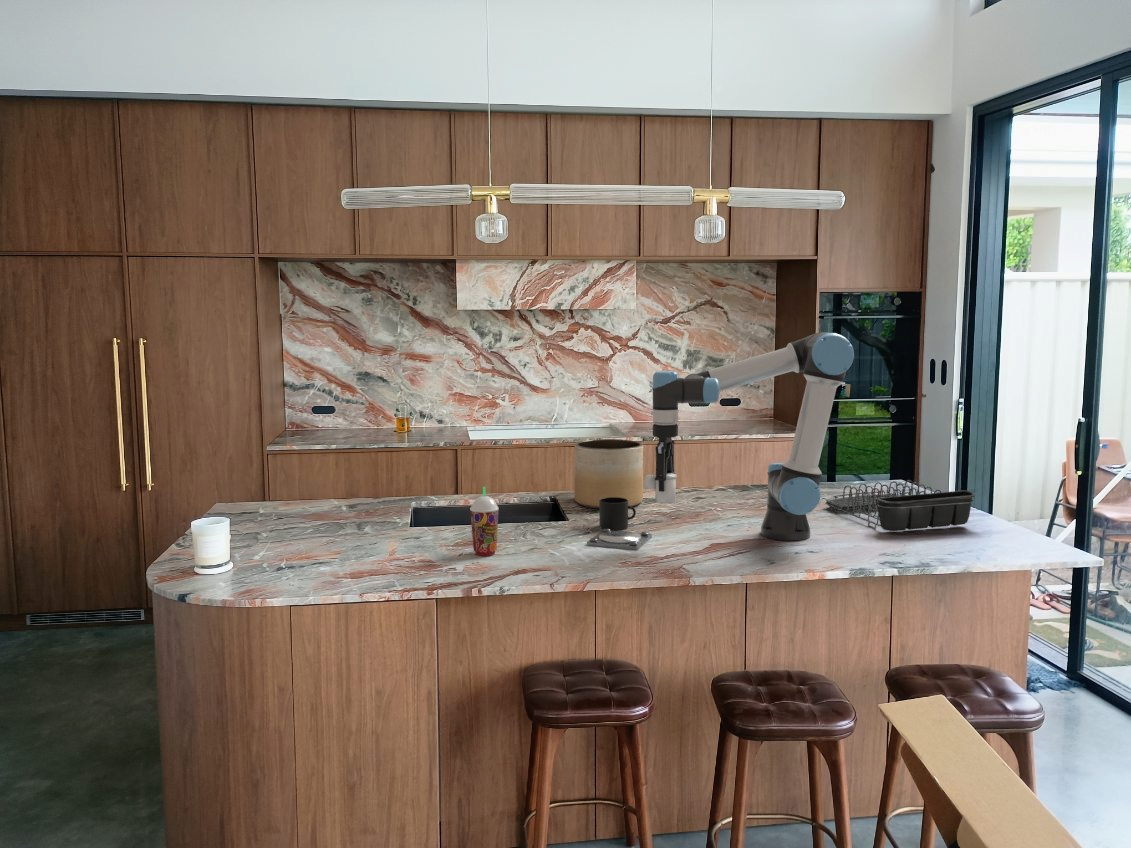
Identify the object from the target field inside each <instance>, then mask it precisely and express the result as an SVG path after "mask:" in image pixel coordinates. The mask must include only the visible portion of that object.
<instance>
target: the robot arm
mask: <svg viewBox="0 0 1131 848" xmlns="http://www.w3.org/2000/svg"><path fill="white" fill-rule="evenodd" d="M854 358H855V352H854V347H853V345H852V344H851V342H850V341H849V340H848V338H846V337H845V336H843V335H842V334H838V333H836V332H824V331H821V332H816V333H813V334H811V335H808V336H806V337H804V338H800V339H798V340H796V341H795V340H794V341H791V342H788V344H787V345H786V347H783V348H779V349H777V350H773V351H769V352H766V353H762V354H759V355H755V356H752V357H748V358H745V359H742V360H738V361H735V362H732V363H728V364H725V365H722V366H718V367H715V368H712V369H708V370H705V371H701V372H698V373H689V374H688V375H686V376H685V377H679V373H678V372H677V371H673V370H670V371H669V370H667V371H666V370H665V371H663V370H662V371H660V370H659V371H656V372H654V374H653V375H652V387H651V388H652V411H651V413H650V414H651V416H652V422H653V424H652V436H653V437H655V438H658V443H657V445H656V446H655V474H656V477H655V480H658V502H667V480H666V474H667V473H673V474H676V472H675V443H676V442H675V440H672V438H676V437H678V436H679V435H678V434H679V425H678V422H679V404H706V405H708V404H716V403H718V402H719V398H720V393H721V392H723V391H727V390H731V389H734V388H735V389H736V388H739V387H742V386H746V385H748V384H753V383H755V382H759V381H762V380H767V379H770V378H773V377H777V376H780V375H784V374H786V373H787V374H788V373H790V372H794V373H796V374H799V373H803V374H802V375H803V377H804V378H805V380H806V384H805V387H804V388H805V390H804V393H803V398H802V402H801V407H800V410H799V415H798V419H797V424H796V428H795V431H794V436H793V441H792V445H791V449H790V453H789V458H788V459H787V460H786V461H785V462H774V463H770V464H769V465H768V469H767V496H766V497H767V501H766V502H767V507H766V513H765V515H764V518H763V520H762V524H761V526H760V534H761V536H763V537H765V538H769V539H772V540H773V539H774V540H779V541H801V540H806V539H809V538H810V536H811V528H810V524H809V520H808V517H807V514H810V513H812V512H813V511H814V510H815V509H816V508H817V506H819V503H820V501H821V489H820V482H821V478H822V475H823V473H822V470H821V469H820V468H819V463H820V459H821V454H822V451H823V446H824V442H825V438H826V433H827V430H828V425H829V422H830V418H831V413H832V409H833V408H832V407H833V403H834V401H835V396H836V392H837V389H838V387H839V386H841V385H842V384H844V382H845V377H846V373H847V371H848V370H849V368H850V367H851V366H852V364H853V362H854ZM660 475H662V476H660Z"/></svg>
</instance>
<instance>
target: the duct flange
mask: <svg viewBox="0 0 1131 848" xmlns="http://www.w3.org/2000/svg"><path fill="white" fill-rule="evenodd" d="M652 536H653V534H652V533H649V531H642V532H634V531H626V530H611V529H608V528H605V529H602V530H601V531H599V533H598V532H597V534H596V535H595V536H593V537H590V539H589V540H587V542H586V546H589V547H591V546H592V547H601V548H602V547H603V548H613V549H623V550H634V551H639V550H640V549H641V548H642V547H643V546H644V545H645V544H646V543H647V542H648V541H650V539H651V538H652Z"/></svg>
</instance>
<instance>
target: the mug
mask: <svg viewBox="0 0 1131 848" xmlns="http://www.w3.org/2000/svg"><path fill="white" fill-rule="evenodd" d="M598 510H599V516H598V517H599V519H598V520H599V523H598V524H599V525H598V526H599V528H600V529H602V530H603V529H605V528H608V529H611V531H624V530H625V529H627V528H629V520H633V519H634V518H635V517H636V513H637V511H636V508H635V506H633V507H632V506H628V500H627V499H625V498H619V497H607V498H602V499H600V500H599V509H598ZM629 510H632V516H629Z"/></svg>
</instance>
